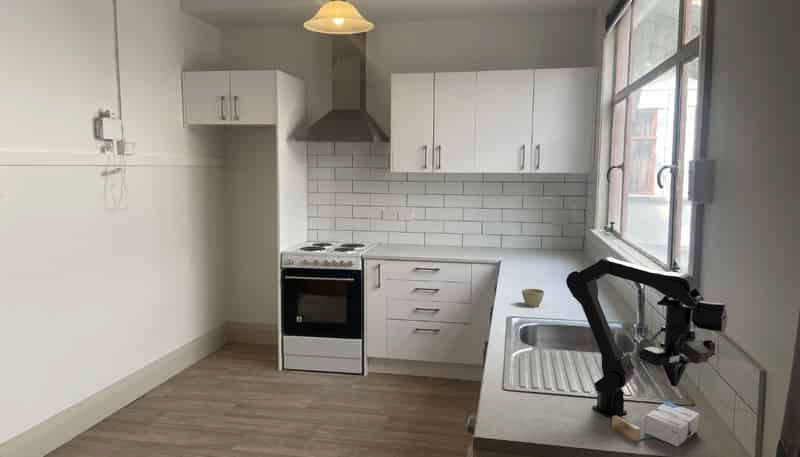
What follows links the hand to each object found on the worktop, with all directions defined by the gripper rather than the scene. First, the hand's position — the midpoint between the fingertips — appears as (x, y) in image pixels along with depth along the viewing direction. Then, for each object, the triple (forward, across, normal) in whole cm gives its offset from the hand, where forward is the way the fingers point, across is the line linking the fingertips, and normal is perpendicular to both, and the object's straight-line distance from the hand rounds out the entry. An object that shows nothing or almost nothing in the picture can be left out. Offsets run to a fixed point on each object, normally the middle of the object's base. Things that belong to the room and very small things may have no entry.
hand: (674, 386), depth 148 cm
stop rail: (+11, -13, +2) cm, 17 cm away
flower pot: (+11, +45, +120) cm, 129 cm away
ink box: (+8, +3, 0) cm, 9 cm away
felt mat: (+11, -6, +2) cm, 13 cm away
